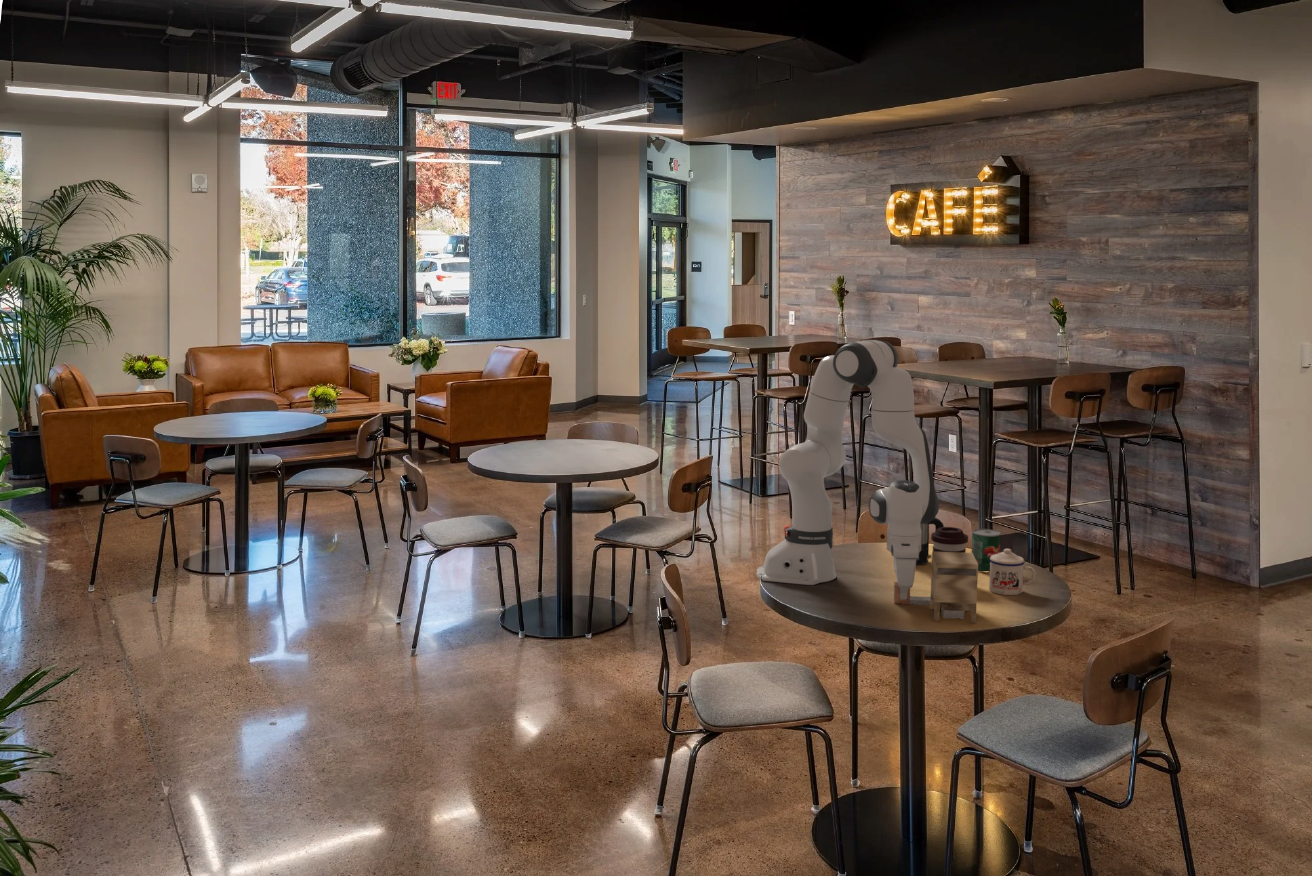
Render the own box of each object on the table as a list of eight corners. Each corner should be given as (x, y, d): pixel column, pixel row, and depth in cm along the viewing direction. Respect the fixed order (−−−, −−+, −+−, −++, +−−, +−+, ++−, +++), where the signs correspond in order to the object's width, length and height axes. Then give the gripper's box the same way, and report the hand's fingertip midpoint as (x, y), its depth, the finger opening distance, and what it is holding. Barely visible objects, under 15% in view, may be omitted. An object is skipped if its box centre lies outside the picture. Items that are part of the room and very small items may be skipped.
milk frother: (908, 567, 323) (910, 518, 320) (877, 554, 337) (878, 507, 335) (947, 562, 328) (949, 513, 326) (915, 549, 342) (917, 503, 340)
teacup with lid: (987, 594, 296) (989, 552, 294) (988, 585, 305) (990, 544, 303) (1035, 598, 292) (1037, 555, 291) (1034, 588, 301) (1036, 547, 299)
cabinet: (934, 621, 273) (936, 563, 271) (930, 607, 284) (932, 551, 282) (975, 623, 272) (978, 564, 269) (970, 609, 283) (972, 552, 281)
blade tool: (894, 603, 288) (894, 585, 287) (893, 599, 291) (893, 581, 291) (965, 607, 285) (965, 588, 284) (963, 602, 289) (964, 584, 288)
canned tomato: (995, 574, 315) (997, 536, 314) (967, 570, 319) (969, 533, 317) (1001, 567, 322) (1003, 530, 320) (974, 564, 326) (976, 527, 324)
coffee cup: (967, 587, 302) (969, 534, 300) (930, 585, 304) (932, 532, 302) (964, 577, 312) (967, 526, 309) (928, 575, 314) (930, 524, 311)
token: (943, 619, 276) (943, 610, 276) (940, 613, 281) (941, 604, 281) (964, 620, 276) (964, 611, 275) (961, 613, 281) (961, 604, 280)
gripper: (889, 533, 298) (887, 582, 300) (893, 552, 278) (892, 605, 280) (913, 534, 297) (911, 583, 299) (919, 553, 277) (917, 606, 279)
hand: (902, 594), depth 289 cm, fingers open, 6 cm apart
